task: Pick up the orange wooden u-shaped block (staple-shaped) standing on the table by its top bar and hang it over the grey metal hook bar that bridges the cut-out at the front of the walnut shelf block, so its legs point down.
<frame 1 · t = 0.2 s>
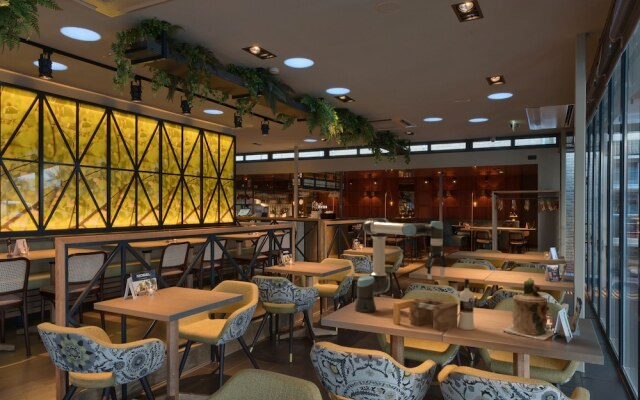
hand: (436, 278, 297), 28 cm above the table, tool pointing down, fingers open, 13 cm apart
wooden u-shaped block: (404, 321, 294), on the table
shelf: (433, 325, 286), on the table
vodka: (466, 328, 280), on the table
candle: (417, 314, 315), on the table
cookie jar: (530, 333, 273), on the table
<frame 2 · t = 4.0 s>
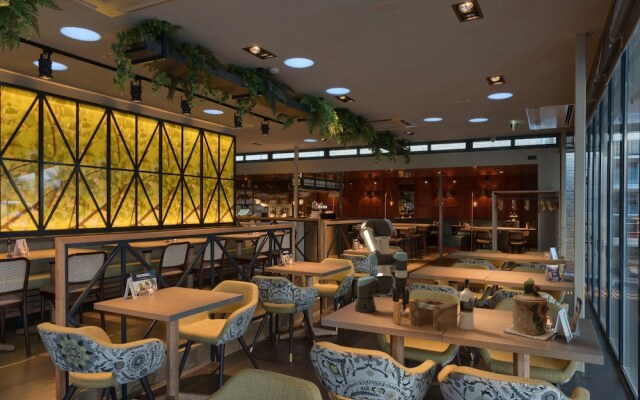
hand: (400, 313, 291), 6 cm above the table, tool pointing down, fingers closed on wooden u-shaped block, 3 cm apart
wooden u-shaped block: (404, 321, 294), on the table, touching gripper
everything else where it was.
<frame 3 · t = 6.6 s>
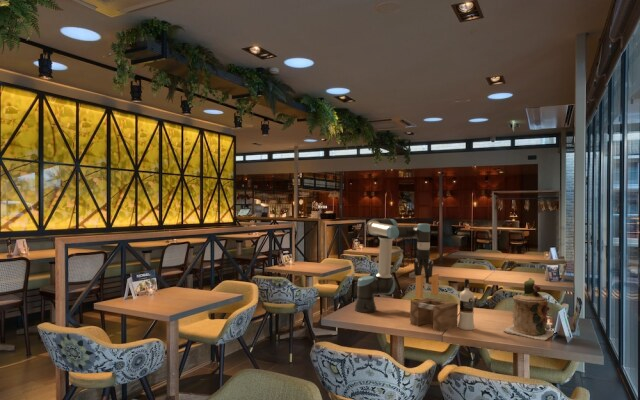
hand: (422, 287, 278), 25 cm above the table, tool pointing down, fingers closed on wooden u-shaped block, 3 cm apart
wooden u-shaped block: (427, 296, 281), point 19 cm above the table, touching gripper
everything else where it was.
when the fingers open (12 cm above the table, at t = 9.4 s): wooden u-shaped block drops 1 cm, resting on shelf.
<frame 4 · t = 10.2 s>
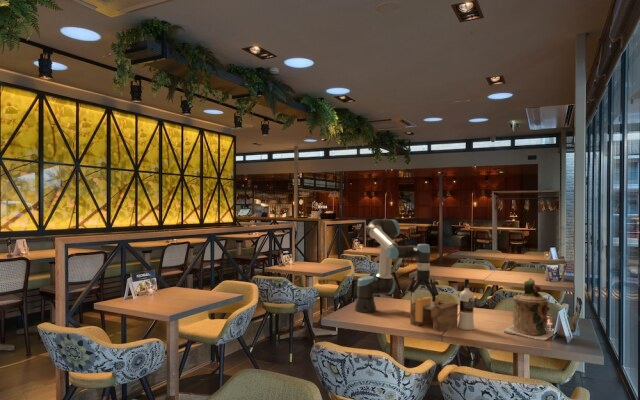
hand: (422, 305, 278), 14 cm above the table, tool pointing down, fingers open, 13 cm apart
wooden u-shaped block: (426, 319, 281), point 5 cm above the table, touching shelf
everything else where it was.
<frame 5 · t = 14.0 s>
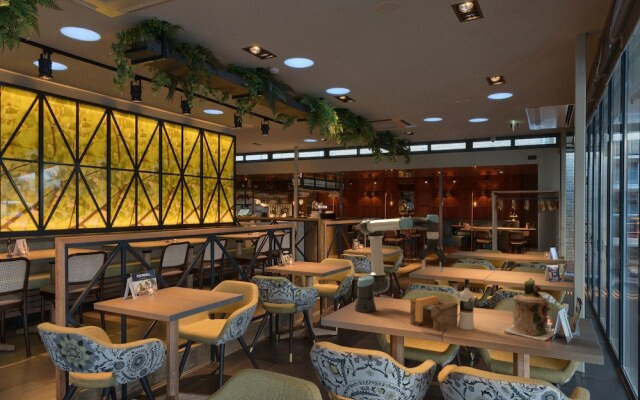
hand: (432, 271, 301), 32 cm above the table, tool pointing down, fingers open, 13 cm apart
nothing on the table moved.
at the end: wooden u-shaped block 0.1 cm from the target spot on the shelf, point 5.0 cm above the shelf's base; wooden u-shaped block touching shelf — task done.
